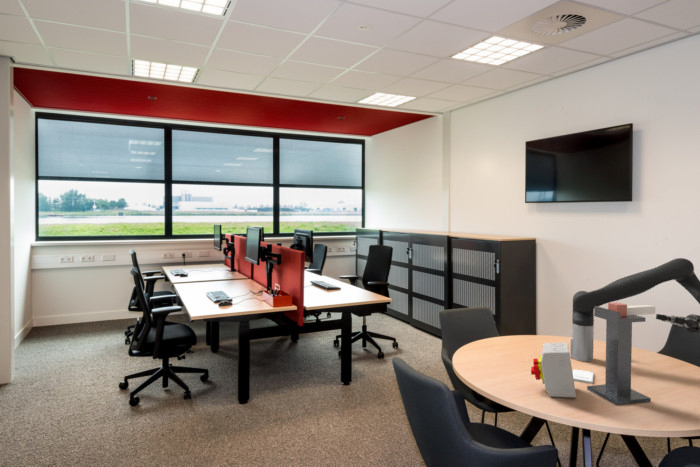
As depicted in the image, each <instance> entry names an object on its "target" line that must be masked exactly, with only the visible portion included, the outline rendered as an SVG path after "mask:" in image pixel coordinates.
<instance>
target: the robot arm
mask: <svg viewBox="0 0 700 467" xmlns="http://www.w3.org/2000/svg"><path fill="white" fill-rule="evenodd" d="M671 281H676V282H677V283H678V284H679V285H680V286H682V287H683V288H684V290H686V291H687V292H689V294H690V295H691V296H692V297H693V298H694V299H695V300H696V301H697V303H698V304H699V305H700V279H699V278H698V277H697V275H696V272H695V267H694V264H693V262H692V261H691V260H689V259H688V258H685V257H684V258H683V257H680V258H679V257H678V258H674V259H672V260H670V261H667V262H665V263H663V264H661V265H658V266H655V267H653V268H651V269H647V270H643V271H640V272H637V273H633V274H631V275H627V276H624V277H621V278H618V279H617V280H614V281H612V282H610V283H608V284H607V285H605V286H603V287H600V288H598V289H595V290H591V291H585V290H579V291H577V292H576V293H575V294H573V297H572V317H571V319H572V324H571V326H572V329H571V330H572V337H571V338H570V348H569V353H570V359H571V358H572V359H573V360H576V361H580V362H581V361H582V362H592V361H593V362H594V333H595V332H594V330H595V329H594V324H595V323H594V322H595V319H594V317H595V316H594V306H598V307H602V306H603V305H606V304H608V303H614V302H617V301H622V300H624V299H628V298H632V297H634V296H638V295H641V294H644V293H646V292H647V291H649V290H652V289H653V288H655V287H656V286H658V285H660V284H663V283H666V282H671ZM655 314H656V315H655V319H656V320H658V321H662V322H666V323H670V324H671V325H677V326H678V327H684V330H685V331H687V332H688V333H690V334H696V335H700V315H698V314H688V315H687V316H686V317H684V316H682V315H681V316H678V315H667V314H660V313H655Z"/></svg>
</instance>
